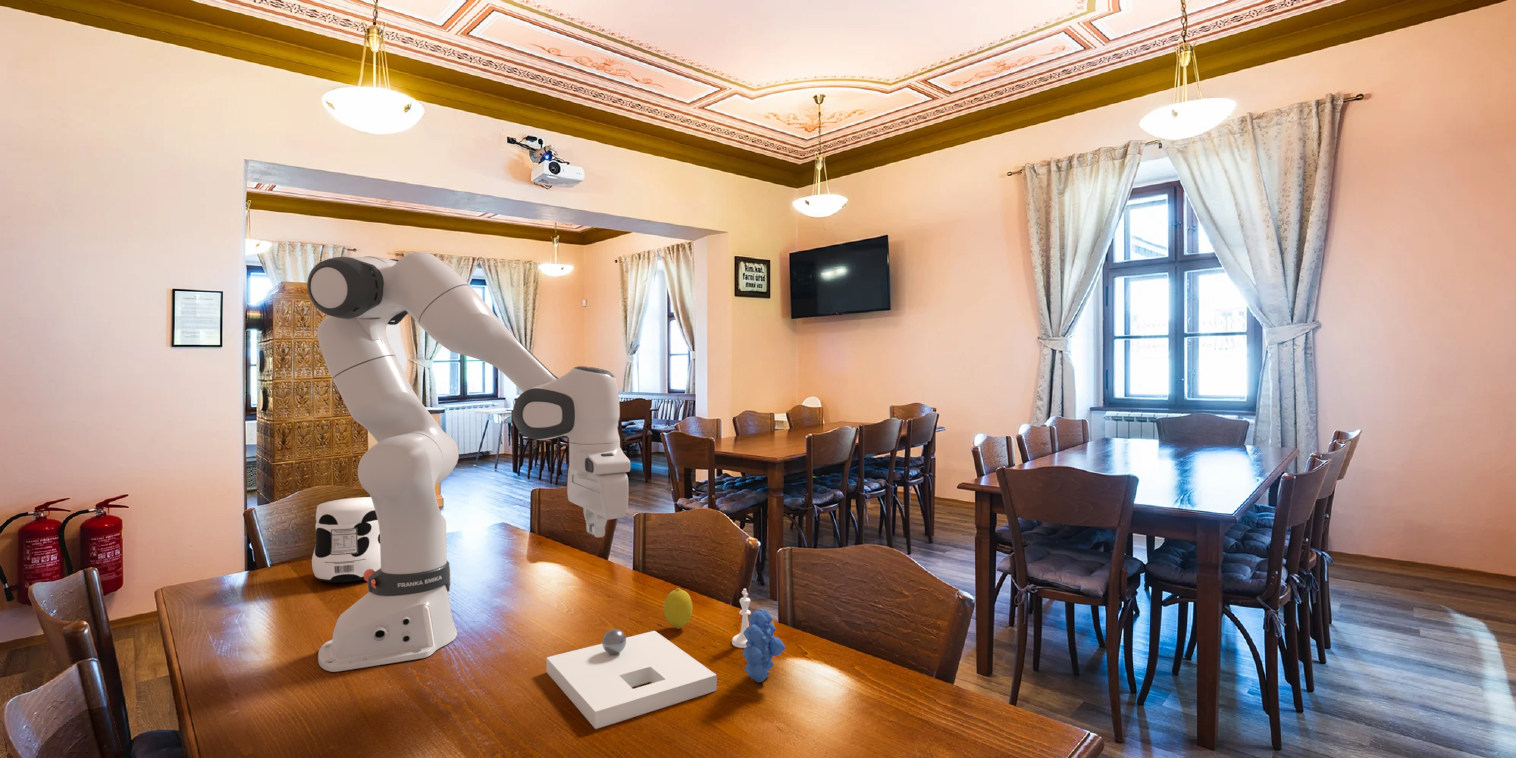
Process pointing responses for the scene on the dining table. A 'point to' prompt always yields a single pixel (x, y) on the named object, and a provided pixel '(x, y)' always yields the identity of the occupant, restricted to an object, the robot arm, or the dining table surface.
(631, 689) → the hole board
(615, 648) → the steel ball
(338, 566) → the milk container
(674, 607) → the lemon
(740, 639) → the chess piece
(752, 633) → the grapes
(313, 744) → the dining table surface
